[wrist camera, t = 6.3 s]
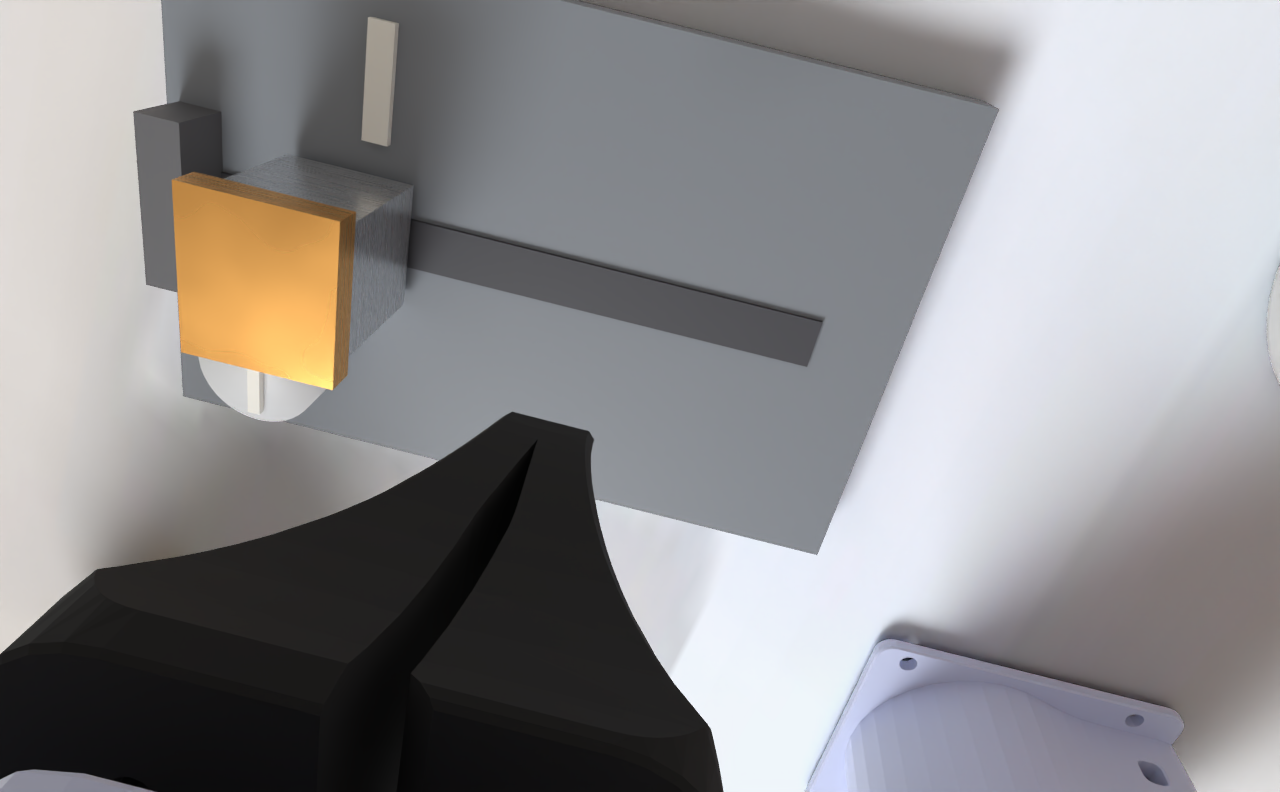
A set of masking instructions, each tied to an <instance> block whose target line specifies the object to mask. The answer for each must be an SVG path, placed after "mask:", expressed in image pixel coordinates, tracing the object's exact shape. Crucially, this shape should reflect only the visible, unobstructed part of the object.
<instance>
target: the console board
mask: <svg viewBox="0 0 1280 792" xmlns="http://www.w3.org/2000/svg"><path fill="white" fill-rule="evenodd" d="M161 4H162V22H163V40H164V58H165V76H166V94H167V104H165V105H160V106H156V107H152V108H147V109H143V110H138V111H134V112H133V113H134V126H135V140H136V153H137V167H138V180H139V194H140V207H141V220H142V234H143V247H144V261H145V274H146V285H150V286H154V287H158V288H162V289H166V290H170V291H174V292H177V293H178V287H177V269H176V251H175V233H174V215H173V197H172V179H175V178H177V177H180V176H183V175H186V174H189V173H191V172H198V173H202V174H206V175H210V176H214V177H218V178H222V179H224V178H227V177H229V176H232V175H234V174H237V173H240V172H242V171H245V170H247V169H250V168H252V167H255V166H257V165H260V164H263V163H265V162H268V161H270V160H273V159H275V158H278V157H281V156H283V155H286V154H289V155H293V156H297V157H301V158H305V159H309V160H313V161H318V162H322V163H326V164H330V165H334V166H338V167H342V168H346V169H350V170H354V171H358V172H362V173H366V174H370V175H374V176H378V177H382V178H386V179H390V180H394V181H398V182H402V183H406V184H410V185H414V187H413V199H412V211H411V223H410V234H409V246H408V258H407V269H406V281H405V293H404V304H403V305H402V306H401V307H400V308H399V309H398V310H397V311H396V312H395V313H394V314H393V315H392V316H391V317H390V318H389V319H388V320H387V321H386V322H385V323H384V324H382V325H381V326H380V327H379V328H378V329H377V330H376V331H375V332H374V333H373V334H372V335H371V336H370V337H369V338H368V339H367V340H366V341H365V342H364V343H363V344H362V345H361V346H360V347H358V348H357V349H356V350H355V351H354V352H353V353H352V354H351V355H350V356H349V357H348V375H347V376H346V377H345V378H344V379H343V380H342V381H341V382H340V383H339V384H338V385H337V386H336V387H335V388H334V389H333V390H330V389H326V388H322V387H318V386H314V385H310V384H306V383H302V382H298V381H294V380H290V379H286V378H282V377H278V376H274V375H270V374H266V373H262V372H258V371H254V370H250V369H246V368H242V367H238V366H234V365H230V364H226V363H222V362H218V361H214V360H210V359H206V358H202V357H198V356H194V355H190V354H186V353H182V352H181V365H182V383H183V396H185V397H189V398H193V399H197V400H201V401H205V402H209V403H213V404H217V405H221V406H225V407H229V408H233V409H234V410H236V411H238V412H240V413H242V414H243V415H246V416H248V417H251V418H254V419H257V420H262V421H270V422H278V421H285V422H289V423H293V424H297V425H301V426H305V427H309V428H313V429H316V430H320V431H324V432H328V433H332V434H336V435H340V436H344V437H348V438H352V439H356V440H360V441H364V442H368V443H372V444H376V445H380V446H384V447H388V448H392V449H396V450H400V451H404V452H408V453H412V454H416V455H420V456H424V457H428V458H432V459H436V460H441V459H442V458H444V457H445V456H447V455H449V454H450V453H452V452H453V451H455V450H456V449H458V448H459V447H461V446H462V445H464V444H465V443H467V442H468V441H470V440H471V439H473V438H474V437H475V436H477V435H478V434H480V433H481V432H483V431H484V430H485V429H487V428H488V427H489V426H491V425H492V424H494V423H495V422H496V421H498V420H499V419H500V418H502V417H503V416H505V415H507V414H509V413H510V412H516V413H520V414H524V415H528V416H532V417H536V418H539V419H543V420H547V421H551V422H555V423H559V424H563V425H567V426H571V427H575V428H579V429H583V430H587V431H589V432H590V434H591V435H592V437H593V438H594V443H593V447H592V452H591V474H592V485H593V492H594V498H595V499H596V500H600V501H604V502H608V503H612V504H616V505H620V506H624V507H628V508H632V509H636V510H640V511H644V512H648V513H652V514H656V515H660V516H664V517H668V518H672V519H676V520H680V521H684V522H688V523H692V524H696V525H700V526H704V527H708V528H712V529H716V530H720V531H724V532H728V533H732V534H736V535H740V536H744V537H748V538H752V539H756V540H760V541H764V542H768V543H772V544H776V545H780V546H784V547H788V548H792V549H796V550H800V551H804V552H808V553H812V554H816V555H817V554H818V552H819V549H820V547H821V544H822V542H823V539H824V537H825V534H826V532H827V530H828V527H829V525H830V522H831V520H832V517H833V515H834V512H835V510H836V508H837V505H838V503H839V500H840V498H841V495H842V493H843V490H844V488H845V485H846V483H847V481H848V478H849V476H850V473H851V471H852V468H853V466H854V463H855V461H856V459H857V456H858V454H859V451H860V449H861V446H862V444H863V441H864V439H865V436H866V434H867V432H868V429H869V427H870V424H871V422H872V419H873V417H874V414H875V412H876V410H877V407H878V405H879V402H880V400H881V397H882V395H883V392H884V390H885V388H886V385H887V383H888V380H889V378H890V375H891V373H892V370H893V368H894V365H895V363H896V361H897V358H898V356H899V353H900V351H901V348H902V346H903V343H904V341H905V339H906V336H907V334H908V331H909V329H910V326H911V324H912V321H913V319H914V316H915V314H916V312H917V309H918V307H919V304H920V302H921V299H922V297H923V294H924V292H925V290H926V287H927V285H928V282H929V280H930V277H931V275H932V272H933V270H934V267H935V265H936V263H937V260H938V258H939V255H940V253H941V250H942V248H943V245H944V243H945V241H946V238H947V236H948V233H949V231H950V228H951V226H952V223H953V221H954V218H955V216H956V214H957V211H958V209H959V206H960V204H961V201H962V199H963V196H964V194H965V192H966V189H967V187H968V184H969V182H970V179H971V177H972V174H973V172H974V169H975V167H976V165H977V162H978V160H979V157H980V155H981V152H982V150H983V147H984V145H985V143H986V140H987V138H988V135H989V133H990V130H991V128H992V125H993V123H994V120H995V118H996V116H997V113H998V111H999V109H998V108H996V107H994V106H992V105H990V104H989V103H987V102H985V101H981V100H977V99H973V98H969V97H965V96H961V95H957V94H953V93H949V92H945V91H941V90H937V89H933V88H929V87H925V86H921V85H917V84H913V83H909V82H905V81H901V80H897V79H893V78H889V77H885V76H881V75H877V74H873V73H869V72H865V71H860V70H856V69H852V68H848V67H844V66H840V65H836V64H832V63H828V62H824V61H820V60H816V59H812V58H808V57H804V56H800V55H796V54H792V53H788V52H784V51H780V50H776V49H772V48H768V47H764V46H760V45H756V44H752V43H748V42H744V41H739V40H735V39H731V38H727V37H723V36H719V35H715V34H711V33H707V32H703V31H699V30H695V29H691V28H687V27H683V26H679V25H675V24H671V23H667V22H663V21H659V20H655V19H651V18H647V17H643V16H639V15H635V14H631V13H627V12H623V11H619V10H614V9H610V8H606V7H602V6H598V5H594V4H590V3H586V2H582V1H578V0H161ZM178 311H179V305H178ZM179 329H180V324H179ZM180 347H181V342H180Z"/></svg>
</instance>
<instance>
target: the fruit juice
mask: <svg viewBox="0 0 1280 792" xmlns="http://www.w3.org/2000/svg"><path fill="white" fill-rule="evenodd" d="M1267 345H1268V352H1269V357H1270V361H1271V365H1272V368H1273V371H1274V373H1275V376H1276V378H1277V381H1278V383H1279V385H1280V265H1279V267H1278V270H1277V273H1276V276H1275V279H1274V282H1273V285H1272V289H1271V293H1270V298H1269V303H1268V310H1267Z"/></svg>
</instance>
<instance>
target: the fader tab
mask: <svg viewBox="0 0 1280 792" xmlns="http://www.w3.org/2000/svg"><path fill="white" fill-rule="evenodd" d="M413 187H414V185H410V184H406V183H402V182H398V181H394V180H390V179H386V178H382V177H378V176H374V175H370V174H366V173H362V172H358V171H354V170H350V169H346V168H342V167H338V166H334V165H330V164H326V163H322V162H318V161H313V160H309V159H305V158H301V157H297V156H293V155H289V154H286V155H283V156H281V157H278V158H275V159H273V160H270V161H268V162H265V163H263V164H260V165H257V166H255V167H252V168H250V169H247V170H245V171H242V172H240V173H237V174H234V175H232V176H229V177H227V178H224V179H222V178H218V177H214V176H210V175H206V174H202V173H198V172H191V173H189V174H186V175H183V176H180V177H177V178H175V179H172V197H173V215H174V233H175V251H176V269H177V287H178V305H179V324H180V342H181V352H182V353H186V354H190V355H194V356H198V357H202V358H206V359H210V360H214V361H218V362H222V363H226V364H230V365H234V366H238V367H242V368H246V369H250V370H254V371H258V372H262V373H266V374H270V375H274V376H278V377H282V378H286V379H290V380H294V381H298V382H302V383H306V384H310V385H314V386H318V387H322V388H326V389H330V390H333V389H334V388H335V387H336V386H337V385H338V384H339V383H340V382H341V381H342V380H343V379H344V378H345V377H346V376H347V375H348V357H349V356H350V355H351V354H352V353H353V352H354V351H355V350H356V349H357V348H358V347H360V346H361V345H362V344H363V343H364V342H365V341H366V340H367V339H368V338H369V337H370V336H371V335H372V334H373V333H374V332H375V331H376V330H377V329H378V328H379V327H380V326H381V325H382V324H384V323H385V322H386V321H387V320H388V319H389V318H390V317H391V316H392V315H393V314H394V313H395V312H396V311H397V310H398V309H399V308H400V307H401V306H402V305H403V304H404V293H405V281H406V269H407V258H408V246H409V234H410V223H411V211H412V199H413Z"/></svg>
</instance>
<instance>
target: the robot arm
mask: <svg viewBox="0 0 1280 792" xmlns="http://www.w3.org/2000/svg"><path fill="white" fill-rule="evenodd" d="M593 443H594V438H593V437H592V435H591V434H590V432H589V431H587V430H583V429H579V428H575V427H571V426H567V425H563V424H559V423H555V422H551V421H547V420H543V419H539V418H536V417H532V416H528V415H524V414H520V413H516V412H510V413H509V414H507V415H505V416H503V417H502V418H500V419H499V420H498V421H496V422H495V423H494V424H492V425H491V426H489V427H488V428H487V429H485V430H484V431H483V432H481V433H480V434H478V435H477V436H475V437H474V438H473V439H471V440H470V441H468V442H467V443H465V444H464V445H462V446H461V447H459V448H458V449H456V450H455V451H453V452H452V453H450V454H449V455H447V456H445V457H444V458H442V459H441V460H439V461H438V462H436V463H435V464H433V465H431V466H430V467H428V468H426V469H425V470H423V471H421V472H419V473H418V474H416V475H414V476H412V477H410V478H409V479H407V480H405V481H403V482H401V483H400V484H398V485H396V486H394V487H393V488H391V489H389V490H387V491H385V492H383V493H381V494H379V495H377V496H375V497H373V498H371V499H368V500H366V501H364V502H361V503H359V504H357V505H354V506H352V507H350V508H347V509H345V510H343V511H340V512H338V513H335V514H332V515H330V516H327V517H324V518H321V519H318V520H315V521H312V522H309V523H306V524H303V525H300V526H297V527H294V528H291V529H288V530H285V531H282V532H279V533H276V534H273V535H270V536H266V537H262V538H259V539H255V540H251V541H247V542H244V543H240V544H236V545H232V546H227V547H223V548H218V549H214V550H210V551H205V552H201V553H196V554H191V555H186V556H181V557H174V558H168V559H162V560H156V561H150V562H143V563H137V564H131V565H125V566H118V567H111V568H103V569H97V570H96V571H94V572H93V573H92V574H91V575H89V576H88V577H87V578H86V579H84V580H83V581H82V582H81V583H79V584H78V585H77V586H76V587H74V588H73V589H72V590H71V591H69V592H68V593H67V594H66V595H64V596H63V597H62V598H61V599H60V600H59V601H58V602H57V603H56V604H55V605H53V606H52V607H51V608H50V609H49V610H48V611H47V612H46V613H45V614H44V615H43V616H42V617H40V618H39V619H38V620H37V621H36V622H35V623H34V624H33V625H32V626H31V627H30V628H29V629H27V630H26V631H25V632H24V633H23V634H22V635H21V636H20V637H19V638H18V639H16V640H15V641H14V642H13V643H12V644H11V645H10V646H9V647H8V648H7V649H6V650H4V651H3V652H2V653H1V654H0V792H723V786H722V780H721V775H720V769H719V763H718V759H717V754H716V749H715V745H714V740H713V736H712V732H711V729H710V727H709V726H708V724H707V723H706V722H705V721H704V720H703V718H702V717H701V716H700V715H699V713H698V712H697V711H696V710H695V709H694V707H693V706H692V705H691V704H690V703H689V701H688V700H687V699H686V698H685V696H684V695H683V694H682V693H681V692H680V690H679V689H678V688H677V687H676V685H675V684H674V683H673V681H672V680H671V679H670V677H669V676H668V674H667V673H666V671H665V670H664V668H663V667H662V665H661V664H660V662H659V661H658V659H657V658H656V656H655V654H654V652H653V650H652V649H651V647H650V645H649V643H648V642H647V640H646V638H645V636H644V634H643V633H642V631H641V629H640V627H639V626H638V624H637V622H636V620H635V618H634V617H633V615H632V613H631V610H630V608H629V606H628V604H627V602H626V599H625V597H624V595H623V593H622V591H621V588H620V586H619V583H618V580H617V578H616V575H615V573H614V570H613V567H612V565H611V562H610V559H609V556H608V552H607V549H606V546H605V542H604V539H603V535H602V531H601V528H600V523H599V519H598V515H597V509H596V503H595V498H594V492H593V485H592V474H591V452H592V447H593ZM906 657H909V658H913V659H911V660H908V661H903V660H902V659H904V658H906ZM1134 714H1135V715H1134ZM1130 715H1133V716H1130ZM1183 729H1184V722H1183V720H1182V719H1181V717H1180V715H1179V714H1178V713H1177V712H1176V711H1175V710H1173V709H1170V708H1167V707H1163V706H1159V705H1155V704H1151V703H1147V702H1143V701H1139V700H1135V699H1131V698H1127V697H1123V696H1119V695H1115V694H1111V693H1107V692H1103V691H1099V690H1095V689H1091V688H1087V687H1083V686H1079V685H1075V684H1071V683H1067V682H1063V681H1059V680H1055V679H1051V678H1047V677H1043V676H1039V675H1035V674H1031V673H1027V672H1023V671H1019V670H1015V669H1011V668H1007V667H1003V666H999V665H995V664H991V663H987V662H983V661H979V660H975V659H971V658H967V657H963V656H959V655H955V654H951V653H947V652H943V651H939V650H935V649H931V648H927V647H923V646H919V645H915V644H912V643H908V642H904V641H900V640H894V639H887V640H883V641H881V642H879V643H878V644H877V645H876V646H875V647H874V650H873V652H872V654H871V656H870V658H869V660H868V662H867V664H866V666H865V668H864V670H863V672H862V674H861V676H860V678H859V681H858V683H857V685H856V687H855V689H854V691H853V693H852V695H851V697H850V699H849V701H848V703H847V705H846V707H845V709H844V712H843V714H842V716H841V718H840V720H839V722H838V724H837V726H836V728H835V730H834V732H833V734H832V736H831V738H830V740H829V743H828V745H827V747H826V749H825V751H824V753H823V755H822V757H821V759H820V761H819V763H818V765H817V767H816V769H815V771H814V774H813V776H812V778H811V780H810V782H809V784H808V786H807V788H806V790H805V792H1197V790H1196V789H1195V787H1194V785H1193V783H1192V781H1191V779H1190V778H1189V776H1188V774H1187V772H1186V770H1185V768H1184V767H1183V765H1182V763H1181V761H1180V759H1179V758H1178V756H1177V754H1176V752H1175V750H1174V748H1173V747H1172V744H1173V743H1174V742H1175V740H1176V739H1177V738H1178V736H1179V735H1180V734H1181V733H1182V731H1183Z"/></svg>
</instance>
